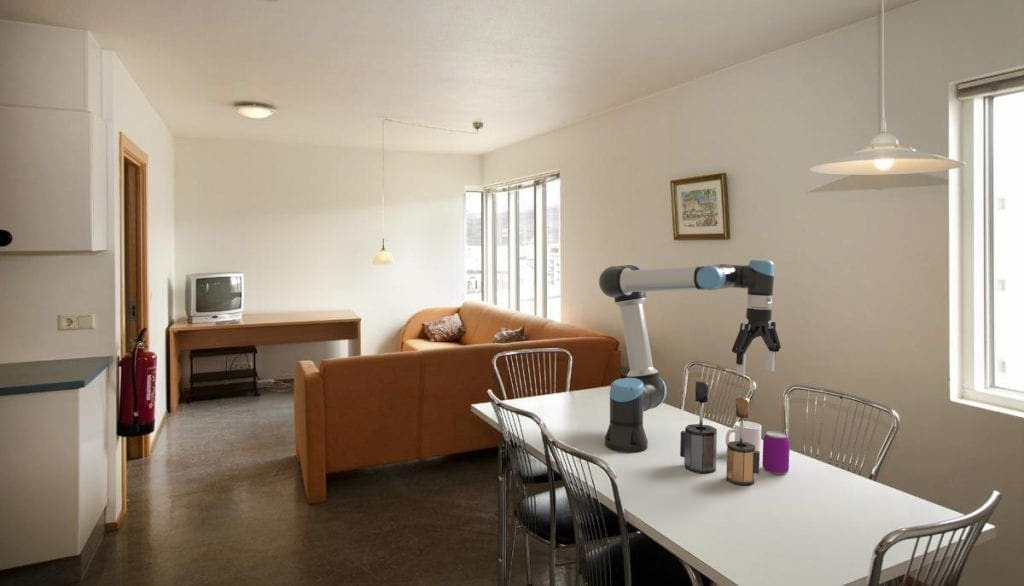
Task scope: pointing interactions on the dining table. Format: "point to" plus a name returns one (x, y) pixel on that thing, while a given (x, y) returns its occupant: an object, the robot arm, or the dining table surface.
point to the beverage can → (776, 452)
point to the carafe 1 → (699, 448)
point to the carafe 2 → (742, 463)
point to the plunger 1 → (701, 397)
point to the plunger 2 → (742, 413)
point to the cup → (747, 434)
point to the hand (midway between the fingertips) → (755, 372)
